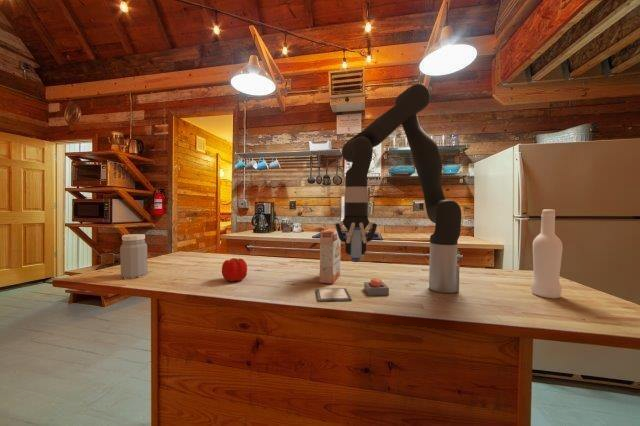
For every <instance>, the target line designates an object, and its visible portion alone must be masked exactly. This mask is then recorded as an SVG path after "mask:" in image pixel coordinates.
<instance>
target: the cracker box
mask: <svg viewBox="0 0 640 426" xmlns="http://www.w3.org/2000/svg"><path fill="white" fill-rule="evenodd" d="M319 233H320V236H319V240H320V241H319V246H320V247H319V283H321V284H330V285H333V284H334V283H335V281H336V280H337V279H339V277H340V275H341V245H342V244H341V242H342V241H341V240H340V239H339V236H338V233H337V230H336V228H327V229H324V230H321V231H320V232H319Z"/></svg>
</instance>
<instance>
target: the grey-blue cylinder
mask: <svg viewBox="0 0 640 426" xmlns="http://www.w3.org/2000/svg"><path fill="white" fill-rule="evenodd" d="M353 229H354V230H353V233H352V236H351V239H350V255H348V256H349V258H350V259H351V260H350V261H351V262H353V263H360V261H361V258H362V256H363V255H362V236H361V230H360V229H361V228H360V227H354V228H353ZM351 230H352V229H351ZM350 233H351V232H350Z"/></svg>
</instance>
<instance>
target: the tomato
mask: <svg viewBox="0 0 640 426" xmlns="http://www.w3.org/2000/svg"><path fill="white" fill-rule="evenodd" d="M221 275H222V277H223V278H224V280H227V281H229V282H233V283H234V282H240V281H242V280H244V279H245V278H247V277H246V276H247V275H248V265H247V262H246V261H245V260H244V259H243V258H240V257H239V258H234V257H233V258H230V259H226V260H224V262H223V263H222V264H221Z"/></svg>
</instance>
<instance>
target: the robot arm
mask: <svg viewBox="0 0 640 426" xmlns="http://www.w3.org/2000/svg"><path fill="white" fill-rule="evenodd" d="M430 92H431V91H430V90H429V88H428V87H427V86H426V85H424V84H422V83H416V84H413V85H411V86H409V87H407V89H405V90H404V91H402V92H401V93H400V94H398V96H397V97H395V101H394V106H392V107H391V108H389V109H388V110H387V111H385V112H383V114H381V115H380V116H379V117H377V118H376V119H374V120H373V121H372V122H371V123H369V125H368V126H366V127H365V128H364V129H363V130H362V131H360V132H359V133H357V134H356V135H354V136H353V137H351V138H349V140H347V141H346V142H345V143H344V144H343V146H342V149H341V156H342V158H343V160H345V161H346V162H348V163H351V165H350V168H349V169H347V170H346V172H345V183H344V184H345V187H344V189H345V190H344V199H343V200H344V205H343V206H344V207H343V208H344V210H343V211H344V213H343V214H344V215H343V220H342V221H340V222H335V224H334V227H335V229H336V230H337V233H338V236H339V239H340V240H341V242H343V243H344V253H346V254H347V255H348V256H349V255H350V239H351V236H352V233H353V230H354V229H353V228H354V227H360V228H361V229H360V230H361V236H362V256H364V255H365V254H366V252H367V243H368V242H371V241H373V239H374V235H375V233H376V229H377V227H378V224H377V223H375V222H370V220H369V217H368V216H369V214H368V213H369V191H368V174H369V171H370V167H371V163H372V157H373V153H374V151H373V148H375V147H377V146H379V145H380V144H381V143H382V142H384V141H385V140H386V139H387V138H388V137H389V136H390V135H392V134H393V132H395V130H397V129H398V128H399V127H400V126H401V127H402V129H403V131H404V134H405V137H406V139H407V142H408V143H407V144H408V147H409V150H410V154H411V157H412V161H413V163H414V167H415V170H416V173H417V177H418V180H419V183H420V187H421V190H422V193H423V200H424V205H425V211H426V215H427V217H428V219H429V220H430V221H431V222H432V223H433V224H435V228H434V232H433V233H432V234H430V237H429V267H428V268H429V271H428V273H429V274H428V280H429V281H428V288H429V289H430V290H431V291H433V292H436V293H440V294H441V293H444V294H454V293H457V292H460V273H461V271H460V269H461V268H460V267H461V266H460V264H458V240H459V238H460V235H461V230H462V209H461V206H460V205H459V203H458V202H456V201H455V200H453V199H446V197H445V195H444V191H443V187H442V177H443V176H442V175H443V160H442V156H441V153H440V149H439V146H438V144H437V142H436V141H435V140H434V139H433V138H432V137H431V136H430V135H429V134H427V132H425V131H424V129H423V128H422V126H421V124H420V121H419V119H418V115H417V114H418V113H420V112H422V111H423V110H424V109H425V108H427V107H428V105H429V103H430V101H431V93H430ZM343 226H344V227H345V228H346V233H345V237H344V235H343V231H342V229H343ZM367 227H368V229H369V230H368V233H367V236H366V231H365V229H366V228H367ZM351 229H352V230H351ZM350 232H351V233H350Z"/></svg>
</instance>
